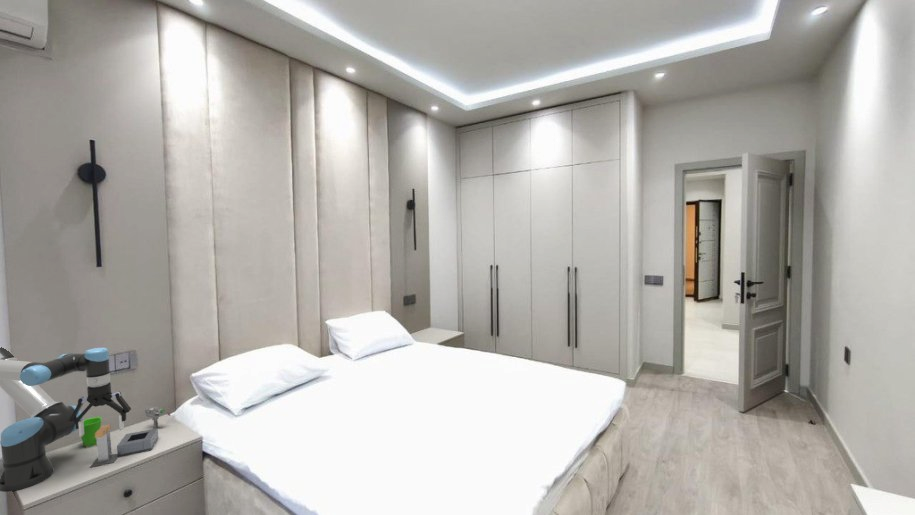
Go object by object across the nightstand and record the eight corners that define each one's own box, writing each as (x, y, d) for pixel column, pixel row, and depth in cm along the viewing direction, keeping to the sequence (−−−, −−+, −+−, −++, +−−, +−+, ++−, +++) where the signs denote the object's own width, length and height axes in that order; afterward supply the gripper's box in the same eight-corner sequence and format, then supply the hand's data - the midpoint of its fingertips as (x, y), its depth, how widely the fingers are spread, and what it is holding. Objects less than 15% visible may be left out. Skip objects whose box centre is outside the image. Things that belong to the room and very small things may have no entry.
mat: (89, 467, 168) (89, 466, 168) (97, 458, 175) (97, 457, 175) (113, 462, 171) (113, 461, 171) (120, 453, 178) (120, 452, 178)
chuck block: (117, 457, 175) (116, 446, 175) (126, 444, 186) (126, 434, 186) (151, 450, 180) (150, 439, 180) (158, 438, 191) (157, 428, 191)
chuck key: (96, 465, 168) (93, 433, 168) (104, 456, 176) (101, 425, 175) (106, 463, 170) (103, 431, 169) (113, 454, 177) (111, 423, 176)
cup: (109, 439, 192) (107, 417, 191) (90, 449, 183) (88, 426, 182) (92, 438, 193) (90, 416, 192) (72, 448, 184) (70, 425, 183)
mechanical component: (161, 429, 200) (160, 410, 199) (145, 428, 202) (143, 409, 201) (166, 426, 203) (165, 407, 202) (150, 425, 205) (149, 406, 204)
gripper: (56, 392, 162) (60, 442, 163) (132, 382, 173) (135, 429, 174) (65, 386, 169) (68, 434, 170) (137, 376, 179) (140, 422, 181)
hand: (102, 432), depth 172 cm, fingers open, 13 cm apart
